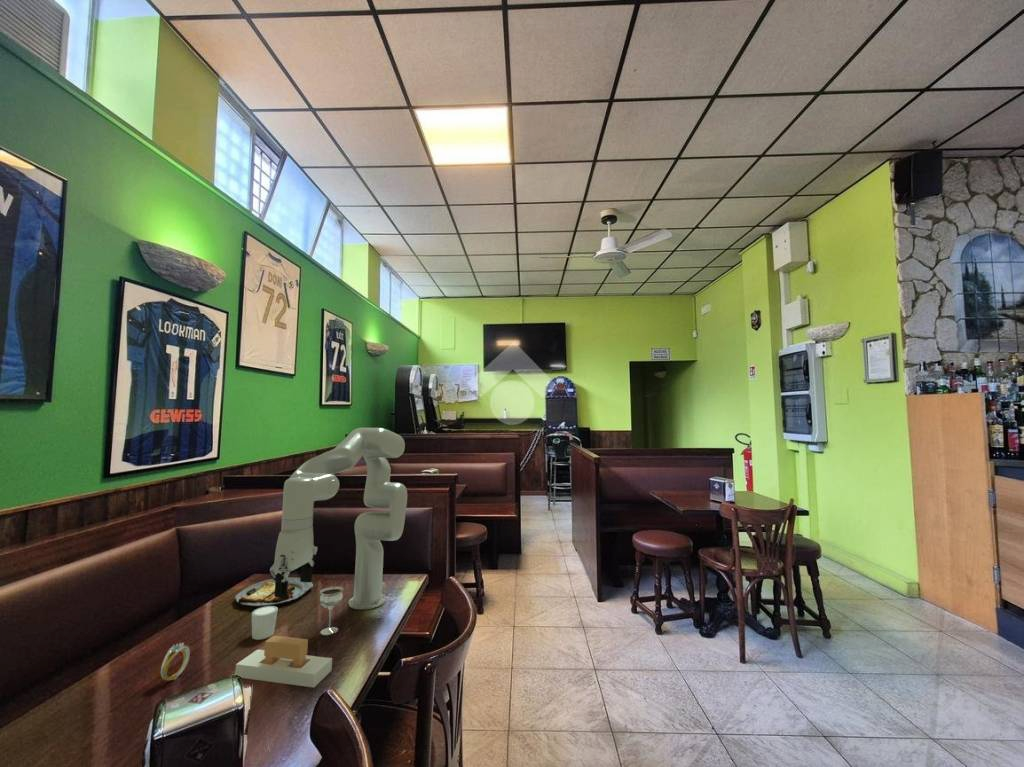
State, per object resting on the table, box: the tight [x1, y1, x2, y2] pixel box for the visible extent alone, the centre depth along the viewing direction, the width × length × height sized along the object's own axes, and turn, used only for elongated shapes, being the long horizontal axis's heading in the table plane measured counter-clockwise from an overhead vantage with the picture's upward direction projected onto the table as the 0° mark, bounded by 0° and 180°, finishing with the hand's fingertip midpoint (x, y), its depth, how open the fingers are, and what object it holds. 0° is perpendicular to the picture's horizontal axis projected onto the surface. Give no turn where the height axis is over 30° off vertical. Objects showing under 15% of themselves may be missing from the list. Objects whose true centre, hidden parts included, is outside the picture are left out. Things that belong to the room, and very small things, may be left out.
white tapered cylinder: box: [251, 605, 279, 640], centre depth 122 cm, size 7×7×7 cm
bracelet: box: [160, 642, 191, 682], centre depth 101 cm, size 7×3×8 cm, turn 172°
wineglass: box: [318, 585, 344, 636], centre depth 125 cm, size 7×7×12 cm
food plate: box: [234, 576, 314, 608], centre depth 150 cm, size 25×23×4 cm
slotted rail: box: [234, 649, 333, 688], centre depth 103 cm, size 7×22×3 cm, turn 80°
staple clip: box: [263, 635, 309, 668], centre depth 103 cm, size 3×10×8 cm, turn 80°
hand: (293, 589), depth 108 cm, fingers open, 9 cm apart
